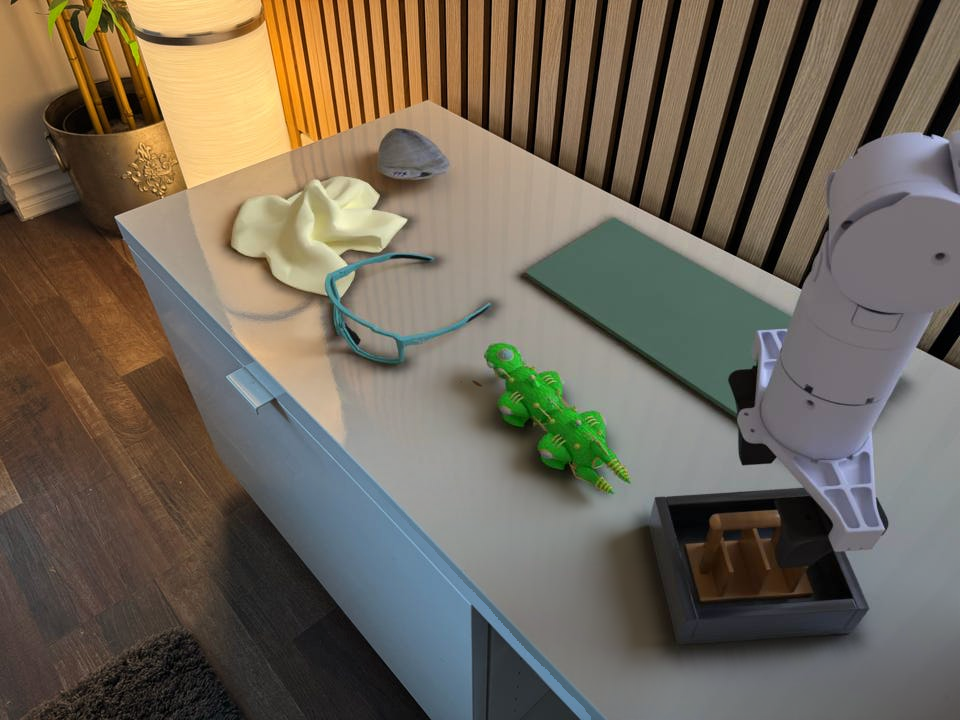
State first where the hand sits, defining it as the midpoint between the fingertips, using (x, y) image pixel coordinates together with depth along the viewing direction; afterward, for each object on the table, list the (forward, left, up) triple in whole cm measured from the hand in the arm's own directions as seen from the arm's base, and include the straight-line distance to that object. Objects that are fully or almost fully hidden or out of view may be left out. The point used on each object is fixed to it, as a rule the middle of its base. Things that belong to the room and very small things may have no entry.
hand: (773, 508), depth 49 cm
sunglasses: (+37, -15, -9) cm, 41 cm away
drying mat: (+10, -25, -9) cm, 28 cm away
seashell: (+49, -38, -9) cm, 63 cm away
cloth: (+52, -23, -9) cm, 58 cm away
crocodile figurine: (+18, -7, -9) cm, 21 cm away
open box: (0, 0, -9) cm, 9 cm away
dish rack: (0, 0, -8) cm, 8 cm away
